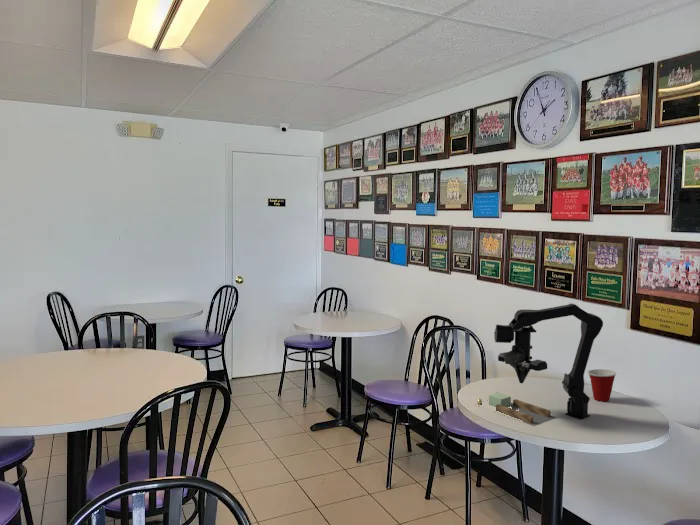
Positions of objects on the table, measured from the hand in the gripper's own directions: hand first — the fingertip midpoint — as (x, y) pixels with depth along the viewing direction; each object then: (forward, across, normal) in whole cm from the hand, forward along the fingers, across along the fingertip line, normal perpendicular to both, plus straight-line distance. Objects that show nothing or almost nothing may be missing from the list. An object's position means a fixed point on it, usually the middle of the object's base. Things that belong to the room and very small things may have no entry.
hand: (521, 383), depth 205 cm
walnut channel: (+12, +1, 0) cm, 12 cm away
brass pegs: (+12, -15, 0) cm, 19 cm away
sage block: (+12, -10, 0) cm, 15 cm away
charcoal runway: (+12, -3, 0) cm, 12 cm away
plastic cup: (+12, +9, +41) cm, 44 cm away
